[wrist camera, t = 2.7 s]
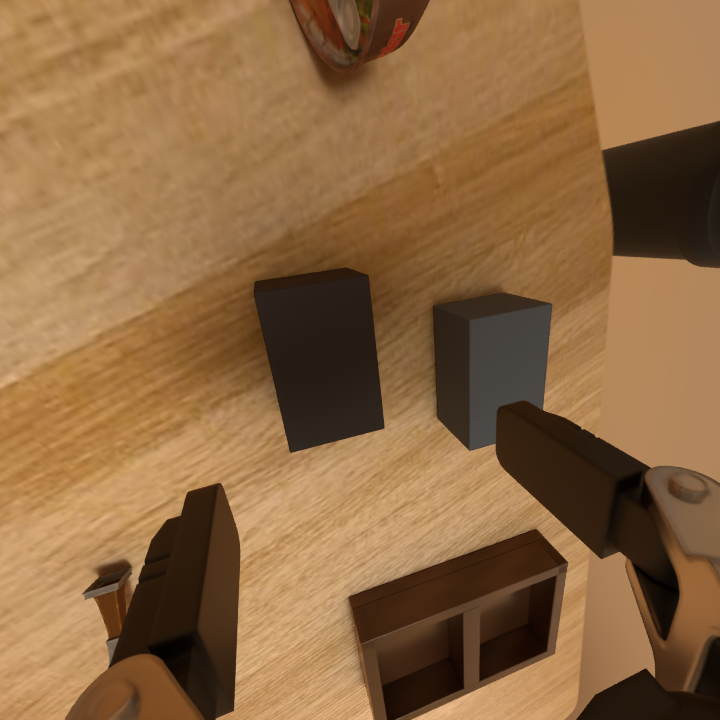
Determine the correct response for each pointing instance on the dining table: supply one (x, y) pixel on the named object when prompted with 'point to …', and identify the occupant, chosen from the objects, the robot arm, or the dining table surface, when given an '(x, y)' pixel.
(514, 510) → the dining table surface
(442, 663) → the divided wooden tray
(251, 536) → the dining table surface
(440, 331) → the pad
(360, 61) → the tin
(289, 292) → the dark brown rectangular block
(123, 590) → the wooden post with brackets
